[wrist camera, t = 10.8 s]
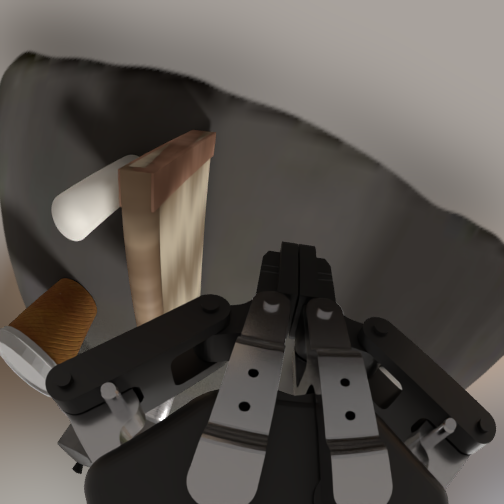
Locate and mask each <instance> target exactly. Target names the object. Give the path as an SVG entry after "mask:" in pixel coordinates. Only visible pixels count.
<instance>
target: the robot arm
mask: <svg viewBox="0 0 504 504" xmlns="http://www.w3.org/2000/svg"><path fill="white" fill-rule="evenodd" d="M288 333H289V339H295V346H294V350H293V353H292V365H293V395H290V394H287V393H284V392H281V391H278V385H279V380H280V375H281V369H282V364H283V358H284V352H285V339H286V338H287V336H288ZM227 361H229V363H228V366H227V369H226V372H225V375H224V378H223V381H222V384H221V387H220V389H219V390H214V391H210V392H207V393H205V394H202V395H200V396H198V397H196V398H195V399H193V400H191V401H190V402H189V403H187V404H186V405H184V406H183V407H181V408H180V409H178V410H177V411H175V412H174V413H172V414H171V415H169V416H167V417H166V418H164V419H163V420H161V421H160V422H158V423H157V424H156V423H153V422H151V421H149V420H147V419H146V416H145V413H147V412H149V411H150V410H152V409H154V408H156V407H157V406H159V405H161V404H163V403H164V402H166V401H168V400H169V399H171V398H173V397H174V396H176V395H178V394H179V393H181V392H183V391H184V390H186V389H188V388H189V387H191V386H192V385H194V384H196V383H197V382H199V381H200V380H202V379H204V378H205V377H207V376H208V375H210V374H211V373H213V372H215V371H216V370H218V369H219V368H221V367H222V366H223V365H225V363H226V362H227ZM380 365H382V366H383V367H384V368H385V369H386V370H387V371H388V372H389V373H390V374H391V375H392V376H393V377H394V378H395V379H396V380H397V381H398V382H399V383H400V384H401V387H402V390H401V389H399V388H398V387H397V386H396V385H395V384H394V383H393V382H392V381H391V380H390V379H389V378H388V377H387V376H386V375H385V374H384V373H383V372H382V371H381V370H380V369H379V366H380ZM45 386H46V390H47V392H48V394H49V395H50V396H51V397H52V399H53V400H54V401H55V402H56V403H57V405H58V407H59V408H60V409H61V411H62V412H63V413H64V414H65V415H66V416H67V417H68V418H69V420H70V422H71V424H72V426H73V428H74V430H75V432H76V434H77V436H78V438H79V440H80V442H81V444H82V446H83V447H84V449H85V451H86V453H87V455H88V456H89V458H90V460H91V461H92V463H93V464H92V465H91V467H90V469H89V470H88V472H87V475H86V479H85V485H84V490H85V497H86V501H87V504H448V497H447V493H446V491H445V489H446V488H447V487H448V486H449V484H450V483H451V482H452V480H453V479H454V478H455V476H456V475H457V473H458V472H459V471H460V469H461V468H462V466H463V465H464V463H465V462H466V460H467V459H468V457H469V456H470V455H472V454H474V453H475V452H476V451H478V450H479V449H481V448H482V447H484V446H485V445H487V444H488V443H489V442H491V441H492V440H493V438H494V436H495V433H496V424H495V421H494V419H493V417H492V416H491V415H490V413H489V412H487V411H486V410H485V409H484V408H483V407H482V406H481V405H480V404H479V403H478V402H477V401H476V400H475V399H474V398H473V397H472V396H471V395H470V394H469V393H468V392H467V391H466V390H465V389H463V388H462V387H461V386H460V385H459V384H458V383H457V382H456V381H455V380H454V379H453V378H452V377H451V376H450V375H448V374H447V373H446V372H445V371H444V370H443V369H442V368H441V367H440V366H439V365H438V364H436V363H435V362H434V361H433V360H432V359H431V358H430V357H429V356H428V355H426V354H425V353H424V352H423V351H422V350H421V349H420V348H419V347H418V346H416V345H415V344H414V343H413V342H412V341H411V340H410V339H409V338H407V337H406V336H405V335H404V334H403V333H402V332H401V331H399V330H398V329H397V328H396V327H395V326H394V325H393V324H391V323H390V322H389V321H387V320H385V319H383V318H379V317H371V318H368V319H367V320H366V321H365V322H364V324H362V323H359V322H357V321H354V320H351V319H349V318H347V317H346V316H344V314H343V311H342V308H341V307H340V306H339V305H338V304H337V303H336V299H335V292H334V285H333V279H332V272H331V266H330V265H329V263H328V262H327V261H326V260H325V259H322V258H316V249H315V246H309V245H303V244H299V246H298V244H295V243H289V242H282V244H281V250H280V252H274V251H268V252H267V253H266V254H265V255H264V256H263V260H262V265H261V271H260V276H259V281H258V287H257V292H256V295H255V296H254V297H253V299H252V300H251V301H249V302H247V303H245V304H240V305H230V304H229V303H228V301H227V300H226V299H224V298H223V297H221V296H218V295H212V294H207V295H202V296H199V297H197V298H195V299H193V300H191V301H189V302H187V303H185V304H183V305H181V306H179V307H177V308H175V309H173V310H171V311H169V312H167V313H165V314H163V315H160V316H158V317H156V318H154V319H152V320H150V321H148V322H146V323H144V324H142V325H140V326H138V327H136V328H134V329H132V330H130V331H128V332H125V333H123V334H121V335H119V336H117V337H115V338H113V339H111V340H109V341H107V342H105V343H102V344H100V345H98V346H96V347H94V348H92V349H90V350H88V351H86V352H83V353H81V354H79V355H77V356H75V357H73V358H71V359H69V360H66V361H64V362H62V363H60V364H58V365H56V366H54V367H53V368H52V369H51V370H50V371H49V373H48V374H47V377H46V380H45Z"/></svg>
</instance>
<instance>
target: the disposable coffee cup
mask: <svg viewBox="0 0 504 504" xmlns="http://www.w3.org/2000/svg"><path fill="white" fill-rule="evenodd" d="M96 313H97V308H96V304H95V302H94V300H93V298H92V297H91V295H90V294H89V293H88V292H87V291H86V290H85V288H83V287H82V286H81V285H80V284H78V283H77V282H75V281H73V280H71V279H67V278H63V279H61V280H59V281H58V282H57V283H56V284H55V285H53V286H52V287H51V288H50V289H49V290H47V291H46V292H45V293H44V294H43V295H42V296H40V297H39V298H38V299H37V300H36V301H35V302H33V303H32V304H31V305H30V306H29V307H28V308H27V309H25V310H24V311H23V312H22V313H21V314H20V315H19V316H18V317H17V318H16V319H15V320H14V321H12V322H11V323H10V324H9V325H8V326H5V327H4V328H0V355H1V357H2V358H3V359H4V361H5V362H6V363H7V364H8V366H9V367H10V368H11V369H12V370H13V371H14V372H15V373H16V374H17V375H18V376H19V377H20V378H21V379H23V380H24V381H25V382H26V383H27V384H29V385H30V386H31V387H33V388H34V389H36V390H38V391H39V392H40V393H42V394H44V395H46V396H48V397H51V396H50V395H49V394H48V392H47V390H46V386H45V380H46V377H47V374H48V373H49V371H50V370H51V369H52V368H53V367H54V366H56V365H58V364H60V363H62V362H64V361H66V360H69V359H71V358H73V357H75V356H77V354H78V352H79V349H80V347H81V345H82V343H83V340H84V338H85V336H86V334H87V332H88V330H89V328H90V326H91V323H92V322H93V319H94V318H95V316H96Z"/></svg>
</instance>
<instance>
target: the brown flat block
mask: <svg viewBox="0 0 504 504" xmlns="http://www.w3.org/2000/svg"><path fill="white" fill-rule="evenodd" d="M215 138H216V132H208V131H199V130H191V131H189V132H187V133H185V134H183V135H181V136H179V137H177V138H175V139H173V140H171V141H169V142H167V143H165V144H163V145H161V146H159V147H157V148H155V149H153V150H151V151H150V152H148V153H146V154H144V155H142V156H140V157H139V158H137V159H135V160H133V161H131V162H130V163H128V164H126V165H125V166H123V167H121V168H119V169H118V189H119V206H120V207H122V219H123V231H124V241H125V251H126V259H127V267H128V275H129V282H130V289H131V295H132V301H133V307H134V313H135V318H136V323H137V327H138V326H140V325H142V324H144V323H146V322H148V321H150V320H152V319H154V318H156V317H158V316H160V315H163V314H165V313H167V312H169V311H171V310H173V309H175V308H177V307H179V306H181V305H183V304H185V303H187V302H189V301H191V300H193V299H195V298H197V297H199V296H200V289H201V270H202V253H203V237H204V223H205V211H206V199H207V187H208V177H209V166H210V158H211V157H212V156H214V147H215Z"/></svg>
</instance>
